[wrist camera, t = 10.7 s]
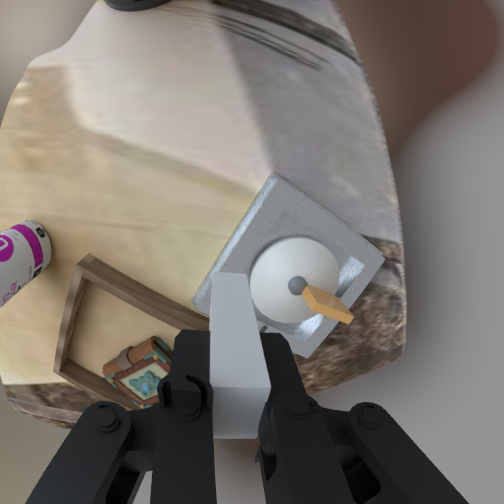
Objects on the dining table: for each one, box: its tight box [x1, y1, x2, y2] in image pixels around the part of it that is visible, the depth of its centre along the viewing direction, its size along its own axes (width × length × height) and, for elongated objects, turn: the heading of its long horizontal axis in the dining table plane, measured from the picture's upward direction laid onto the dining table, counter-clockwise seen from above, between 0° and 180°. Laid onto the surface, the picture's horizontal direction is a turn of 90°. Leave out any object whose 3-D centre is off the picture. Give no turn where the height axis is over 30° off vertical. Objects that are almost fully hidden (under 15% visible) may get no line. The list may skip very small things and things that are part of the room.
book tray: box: [53, 254, 210, 411], centre depth 38 cm, size 24×24×4 cm
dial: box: [249, 236, 354, 324], centre depth 33 cm, size 13×12×7 cm
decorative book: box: [103, 336, 173, 409], centre depth 40 cm, size 13×18×5 cm
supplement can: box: [0, 220, 51, 308], centre depth 25 cm, size 8×8×15 cm
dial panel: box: [192, 173, 385, 358], centre depth 36 cm, size 20×20×3 cm
